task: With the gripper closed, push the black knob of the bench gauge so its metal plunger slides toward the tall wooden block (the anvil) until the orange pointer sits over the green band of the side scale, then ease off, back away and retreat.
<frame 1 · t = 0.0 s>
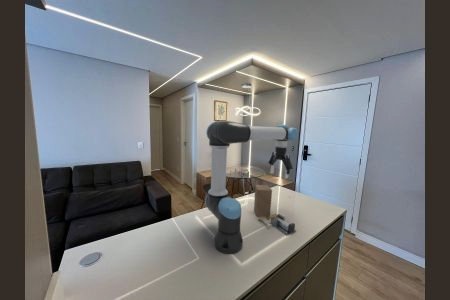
hand: (278, 175, 121), 28 cm above the kitchen island, fingers open, 13 cm apart
wooden block: (261, 213, 122), on the kitchen island
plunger: (278, 223, 103), point 4 cm above the kitchen island, slide at 0.0 cm
gauge housing: (277, 224, 109), on the kitchen island
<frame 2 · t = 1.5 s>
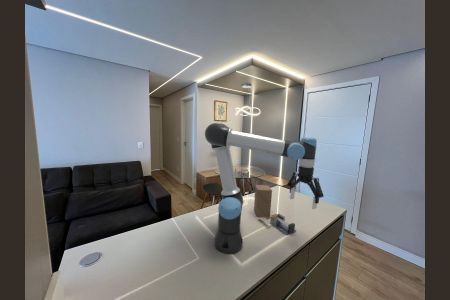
hand: (302, 203, 93), 21 cm above the kitchen island, fingers open, 13 cm apart
nothing on the kitchen island moved.
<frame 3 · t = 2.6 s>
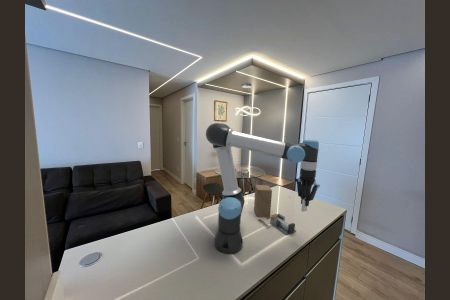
hand: (304, 210, 91), 18 cm above the kitchen island, fingers closed
nothing on the kitchen island moved.
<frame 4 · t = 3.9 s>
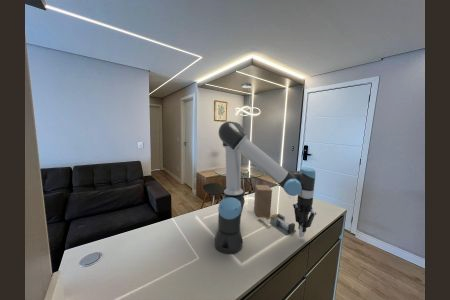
hand: (301, 236, 93), 2 cm above the kitchen island, fingers closed
nothing on the kitchen island moved.
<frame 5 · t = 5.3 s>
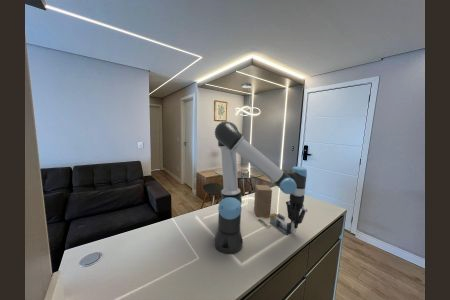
hand: (293, 232, 98), 2 cm above the kitchen island, fingers closed
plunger: (276, 222, 104), point 4 cm above the kitchen island, slide at 1.1 cm, touching gripper
everything else where it was.
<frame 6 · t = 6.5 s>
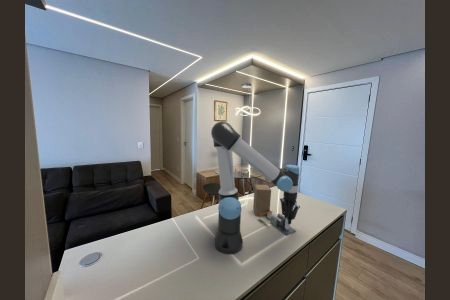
hand: (287, 227, 102), 2 cm above the kitchen island, fingers closed
wooden block: (260, 213, 122), on the kitchen island, touching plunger
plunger: (271, 219, 108), point 4 cm above the kitchen island, slide at 5.6 cm, touching gripper, wooden block
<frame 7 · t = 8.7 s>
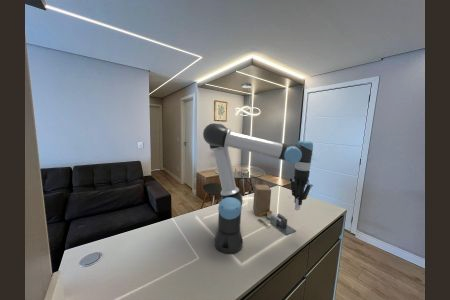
hand: (297, 209, 95), 17 cm above the kitchen island, fingers closed
wooden block: (260, 213, 122), on the kitchen island
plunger: (271, 219, 108), point 4 cm above the kitchen island, slide at 5.7 cm
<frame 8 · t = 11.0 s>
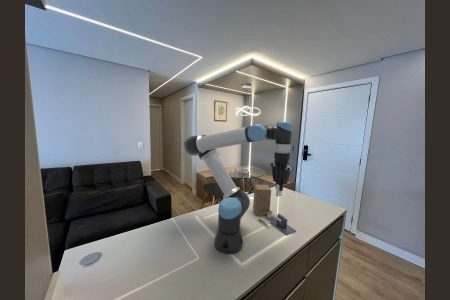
hand: (278, 195, 89), 26 cm above the kitchen island, fingers closed
nothing on the kitchen island moved.
at the end: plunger slide at 5.7 cm; wooden block moved 0.8 cm from its start; wooden block tilted 0° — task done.
